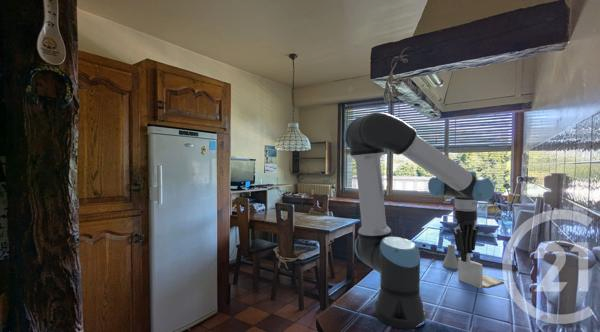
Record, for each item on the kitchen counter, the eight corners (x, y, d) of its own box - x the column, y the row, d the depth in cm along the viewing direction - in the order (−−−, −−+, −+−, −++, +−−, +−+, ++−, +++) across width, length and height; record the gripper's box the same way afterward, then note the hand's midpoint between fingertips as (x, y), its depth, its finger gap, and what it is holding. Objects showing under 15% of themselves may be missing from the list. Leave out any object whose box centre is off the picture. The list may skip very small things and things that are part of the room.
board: (486, 287, 111) (486, 286, 111) (459, 277, 121) (459, 276, 121) (503, 283, 116) (503, 281, 116) (476, 273, 126) (476, 272, 126)
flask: (463, 269, 130) (463, 247, 130) (447, 269, 131) (447, 247, 131) (454, 264, 138) (455, 243, 138) (439, 264, 138) (439, 243, 138)
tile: (479, 288, 111) (479, 264, 111) (458, 279, 119) (458, 258, 119) (482, 287, 112) (482, 264, 112) (460, 279, 120) (461, 257, 120)
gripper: (463, 212, 108) (463, 275, 108) (485, 209, 113) (485, 269, 114) (445, 209, 115) (446, 268, 115) (467, 207, 120) (467, 263, 120)
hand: (465, 269), depth 114 cm, fingers closed
